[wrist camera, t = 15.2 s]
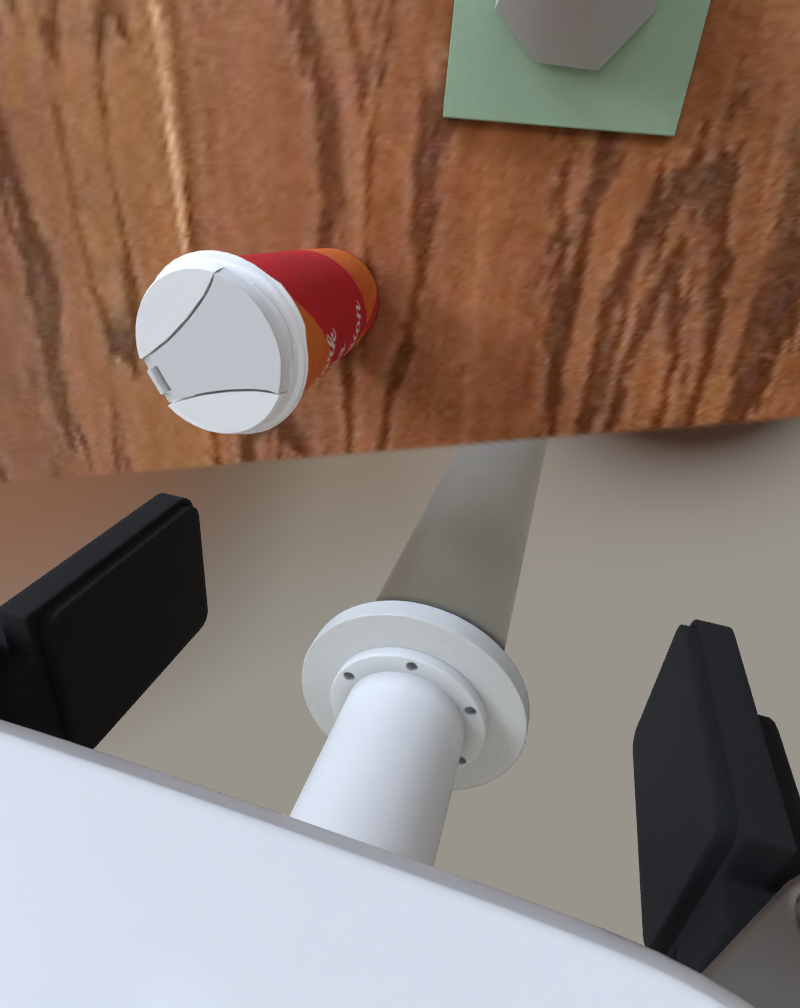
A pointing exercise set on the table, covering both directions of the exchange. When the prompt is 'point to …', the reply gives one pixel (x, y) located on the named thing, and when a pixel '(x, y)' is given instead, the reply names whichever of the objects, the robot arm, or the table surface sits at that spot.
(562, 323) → the table surface
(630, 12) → the flask
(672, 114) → the coaster
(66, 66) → the table surface
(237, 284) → the paper cup
